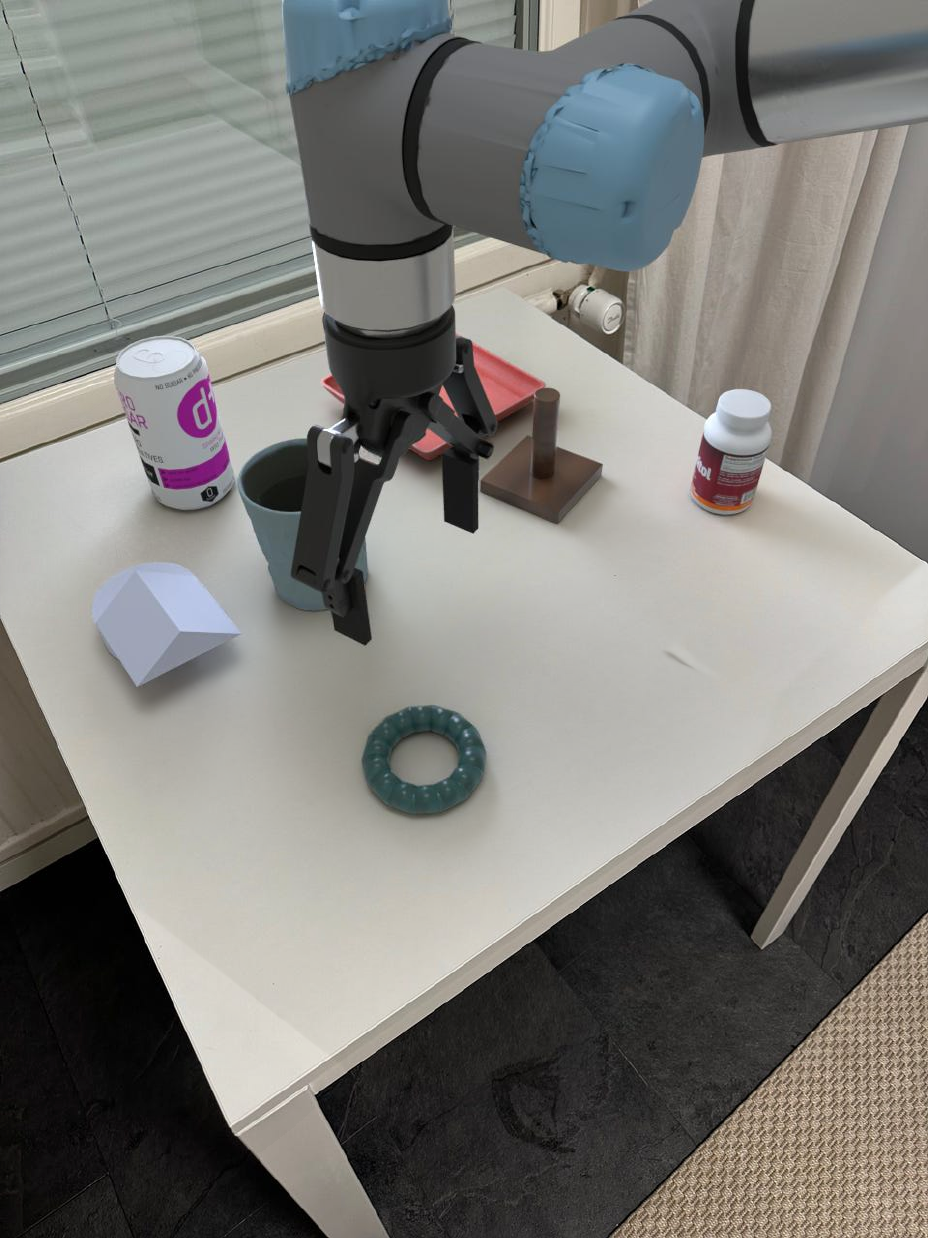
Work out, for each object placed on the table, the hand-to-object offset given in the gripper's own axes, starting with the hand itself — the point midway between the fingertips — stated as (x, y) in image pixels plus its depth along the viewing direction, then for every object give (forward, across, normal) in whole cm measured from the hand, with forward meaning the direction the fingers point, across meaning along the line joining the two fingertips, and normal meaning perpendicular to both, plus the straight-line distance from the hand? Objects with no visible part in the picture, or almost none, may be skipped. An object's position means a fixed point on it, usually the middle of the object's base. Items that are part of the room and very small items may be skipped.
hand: (410, 577), depth 65 cm
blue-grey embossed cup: (+11, -4, -14) cm, 19 cm away
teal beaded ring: (+10, +7, +6) cm, 14 cm away
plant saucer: (+11, -32, -21) cm, 40 cm away
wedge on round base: (+11, +8, -20) cm, 25 cm away
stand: (+11, -27, -4) cm, 30 cm away
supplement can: (+11, -8, -33) cm, 36 cm away
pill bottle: (+12, -35, +12) cm, 39 cm away
